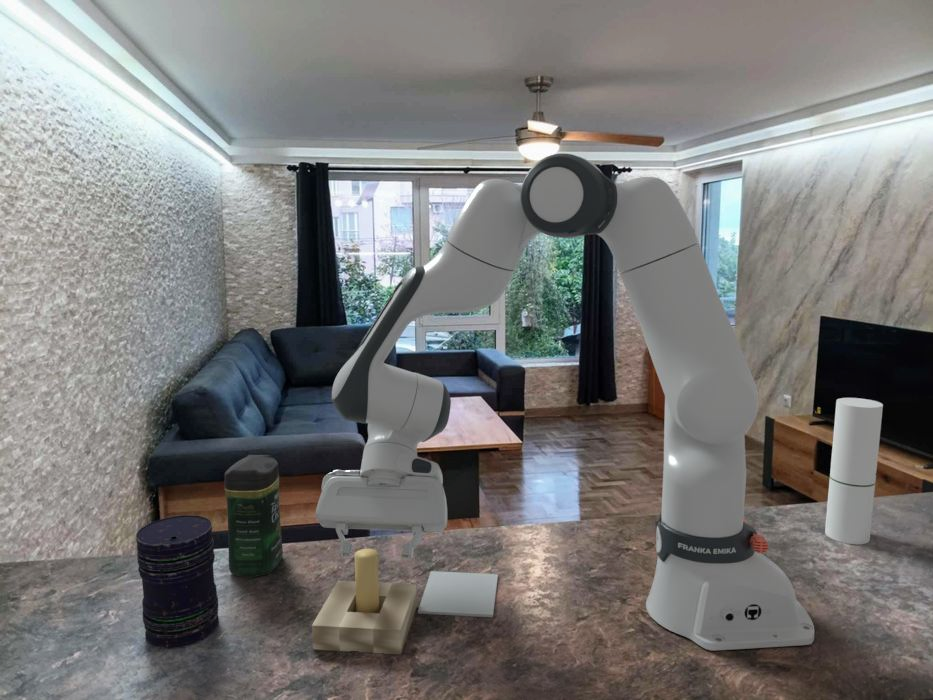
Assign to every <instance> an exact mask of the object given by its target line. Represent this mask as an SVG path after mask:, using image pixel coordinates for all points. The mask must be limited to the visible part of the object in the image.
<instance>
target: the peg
mask: <svg viewBox="0 0 933 700" xmlns="http://www.w3.org/2000/svg"><path fill="white" fill-rule="evenodd" d="M378 553H379V552H378V551H377V550H376V549H373V548H362V549H359V550H357V551H356V552H354V577H355V578H354V579H355V580H354V581H355V584H356V612H361V613H379V557H378V556H379V555H378Z"/></svg>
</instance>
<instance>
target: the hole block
mask: <svg viewBox="0 0 933 700" xmlns="http://www.w3.org/2000/svg"><path fill="white" fill-rule="evenodd" d="M417 589H418V587H417V584H416V583H398V582H397V583H396V582H379V613H361V612H356V584H355V580H354V581H353V580H337V582H336V584H334V587H333V588H332V590H331V591H330V594H329V595H328V597H327V599H326V600H325V602H324V604H323V605H322V607H321V609H320V611H319V612H318V615H316V618H315V619H314V621H313V623H312V625H311V634H312V636H311V637H312V639H311V640H312V649H313V650H317V651H337V652H350V651H359V652H358V653H367V652H372V653H371V654H383V653H384V654H386V655H387V654H388V655H402V653H403V649H404V647H405V643H406V641H407V639H408V638H407V637H408V635H409V632H410V629H411V625H412V622H413V619H414V616H415V614H416V610H417V608H418V593H417V592H418V590H417Z"/></svg>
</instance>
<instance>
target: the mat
mask: <svg viewBox="0 0 933 700" xmlns="http://www.w3.org/2000/svg"><path fill="white" fill-rule="evenodd" d="M498 579H499V574H497V573H480V572H474V573H473V572H460V571H459V572H458V571H457V572H455V571H434V570H433V571H432V570H431V571H430V573H429V576H428V579H427V582H426V585H425V588H424V591H423V594H422V597H421V600H420V604H419V607H418V609H417V614H420V615H421V614H422V615H440V616H456V617H457V616H461V617H479V618H494V611H495V605H496V597H497V596H496V595H497V587H498Z"/></svg>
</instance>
